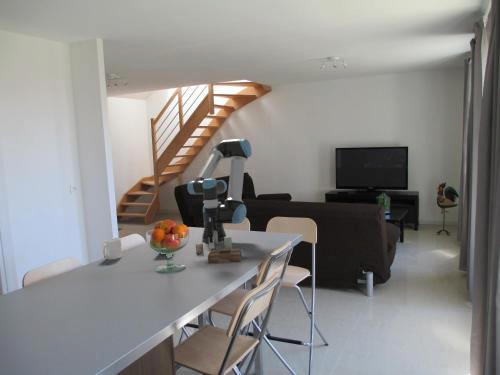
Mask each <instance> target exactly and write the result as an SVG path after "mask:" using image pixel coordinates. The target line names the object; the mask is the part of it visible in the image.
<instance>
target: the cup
mask: <svg viewBox="0 0 500 375" xmlns="http://www.w3.org/2000/svg"><path fill="white" fill-rule="evenodd" d="M121 239H122V238H118V237H113V238H108V239H105V240H104V244H103V247H102V255H103V257H104V258H106V259H107V260H108V261H109V260H112V261H113V260H117V259H121V258H122V257H123V250H122V249H123V248H122V240H121Z"/></svg>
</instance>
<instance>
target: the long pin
mask: <svg viewBox="0 0 500 375" xmlns="http://www.w3.org/2000/svg"><path fill="white" fill-rule="evenodd" d="M213 236H214V247H215V248H213V249H209V252H210V251H211V250H216V249H218V243H217V232H216V230H213Z"/></svg>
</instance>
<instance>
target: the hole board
mask: <svg viewBox="0 0 500 375" xmlns="http://www.w3.org/2000/svg"><path fill="white" fill-rule="evenodd" d="M242 256H243V253H242V248H232V249H225V248H223V249H222V248H219V249H216V250H211V251H210V250H209V253H208V254H207V265H208V264H209V265H210V264H212V265H213V264H233V263H235V264H236V263H237V264H238V263H241V261H242Z"/></svg>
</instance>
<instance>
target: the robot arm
mask: <svg viewBox="0 0 500 375" xmlns="http://www.w3.org/2000/svg"><path fill="white" fill-rule="evenodd" d="M208 154H209V155H208V158H207V159H206V161H205V163H204V164H203V166H202V168H201V170H200V171H199V173H198V175H197V177H196V178H195V179H194V180H192V181H189V182H188V183H187V187H186V188H187V192H188V193H189V194H190V195H203V196H202V197H203V200H202V203H203V206H202V214H203V215H202V216H203V233H202V235H201V236H202V237H201V238H202V239H201V241H202V242H204V243H208V248H209V250H210V249H213V248H215V247H214V236H213V230H216V232H217V244H218V243H219V242H223V241H224V237H227V234H226V231H225V228H224V225H223V224H229V225H230V224H233V225H237V224H238V225H239V224H242V223H243V222H244V221H245V219H246V216H247V206H246V205H245V204H244V201H243V200H242V195H243V188H244V186H243V184H244V176H245V174H244V173H245V164H246V163H247V162H248V158H250V157H251V156H252V146H251V143H250V141H249V140H248V139H246V138H236V139H224V140H221V141H220V142H218V143H216V144H215V145H214V146H213V147H212V148H211V150H210V151H209V153H208ZM224 159H228V160H229V162H230V169H229V180H228V184H227V182H226V181H225V180H222V179H216V178H212V177H213V175H214V173H215V172H216V170H217V169H218V167H219V165H220V163H222V162H223V161H224ZM227 188H228V189H227ZM226 191H227V198H226V199H225V200H224V204H223V203H222V202H221V201H219V199H218V195H220V194H221V195H222V194H223V193H225V192H226Z"/></svg>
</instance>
